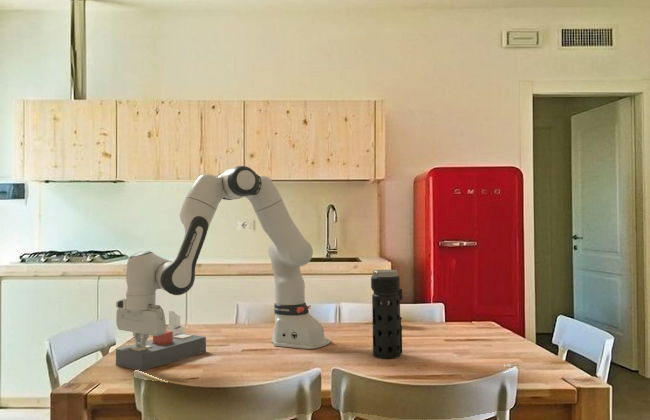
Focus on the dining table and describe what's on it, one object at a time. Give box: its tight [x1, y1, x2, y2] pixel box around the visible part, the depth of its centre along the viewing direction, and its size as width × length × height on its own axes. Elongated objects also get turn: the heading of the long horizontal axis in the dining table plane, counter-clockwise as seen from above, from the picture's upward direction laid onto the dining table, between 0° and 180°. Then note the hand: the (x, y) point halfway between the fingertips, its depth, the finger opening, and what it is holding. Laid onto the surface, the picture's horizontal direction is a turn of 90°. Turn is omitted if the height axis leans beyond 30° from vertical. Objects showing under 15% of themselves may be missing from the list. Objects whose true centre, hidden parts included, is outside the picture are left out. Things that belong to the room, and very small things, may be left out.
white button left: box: [131, 345, 152, 351], centre depth 157 cm, size 4×4×5 cm
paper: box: [453, 354, 521, 369], centre depth 154 cm, size 25×17×1 cm
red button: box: [152, 330, 173, 345], centre depth 164 cm, size 4×4×5 cm
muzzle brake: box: [370, 269, 403, 360], centre depth 165 cm, size 10×28×10 cm
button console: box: [115, 333, 207, 372], centre depth 164 cm, size 13×26×5 cm, turn 148°
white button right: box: [173, 333, 193, 340], centre depth 172 cm, size 4×4×5 cm
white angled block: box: [168, 310, 186, 335], centre depth 196 cm, size 4×10×9 cm
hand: (140, 346), depth 157 cm, fingers closed, pressing on white button left
